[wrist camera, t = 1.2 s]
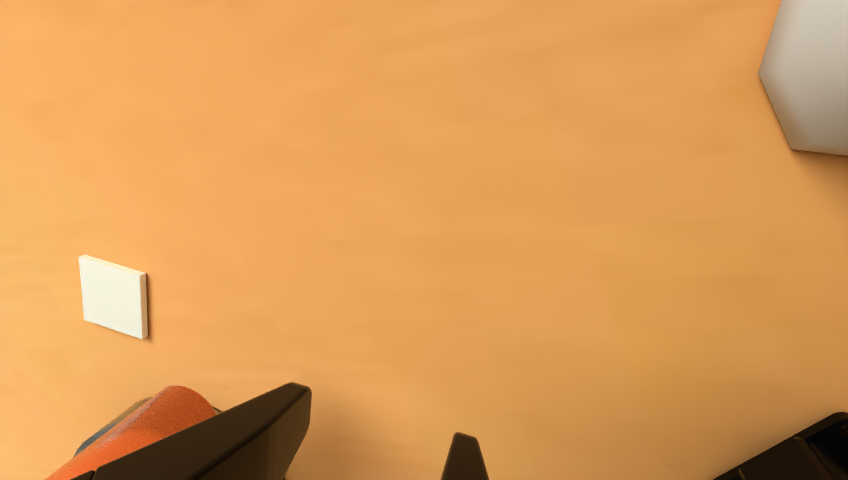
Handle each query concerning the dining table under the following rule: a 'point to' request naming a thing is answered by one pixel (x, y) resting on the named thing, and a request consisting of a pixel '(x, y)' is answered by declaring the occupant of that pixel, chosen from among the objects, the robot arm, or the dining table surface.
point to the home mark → (114, 296)
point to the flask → (810, 74)
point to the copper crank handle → (141, 429)
